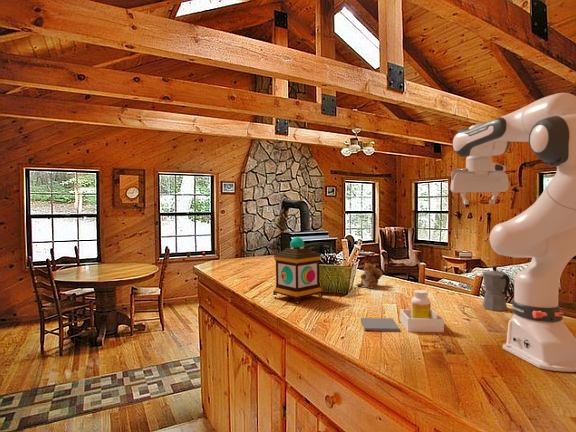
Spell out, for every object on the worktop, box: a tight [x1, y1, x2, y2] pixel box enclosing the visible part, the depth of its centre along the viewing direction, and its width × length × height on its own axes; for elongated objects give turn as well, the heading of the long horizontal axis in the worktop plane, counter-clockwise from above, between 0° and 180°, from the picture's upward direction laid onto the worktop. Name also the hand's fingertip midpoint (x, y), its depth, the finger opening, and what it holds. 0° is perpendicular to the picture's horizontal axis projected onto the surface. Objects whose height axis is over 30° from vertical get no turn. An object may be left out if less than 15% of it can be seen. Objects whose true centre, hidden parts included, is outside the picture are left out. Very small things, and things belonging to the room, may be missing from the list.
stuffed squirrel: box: [356, 262, 383, 289], centre depth 202 cm, size 10×14×13 cm
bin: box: [399, 308, 445, 333], centre depth 134 cm, size 12×12×4 cm
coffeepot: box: [482, 266, 511, 312], centre depth 155 cm, size 15×9×18 cm, turn 6°
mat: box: [360, 317, 401, 332], centre depth 135 cm, size 12×12×1 cm
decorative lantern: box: [272, 236, 324, 303], centre depth 178 cm, size 20×20×30 cm
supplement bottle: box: [410, 289, 431, 319], centre depth 134 cm, size 7×7×13 cm
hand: (479, 204), depth 140 cm, fingers open, 8 cm apart
